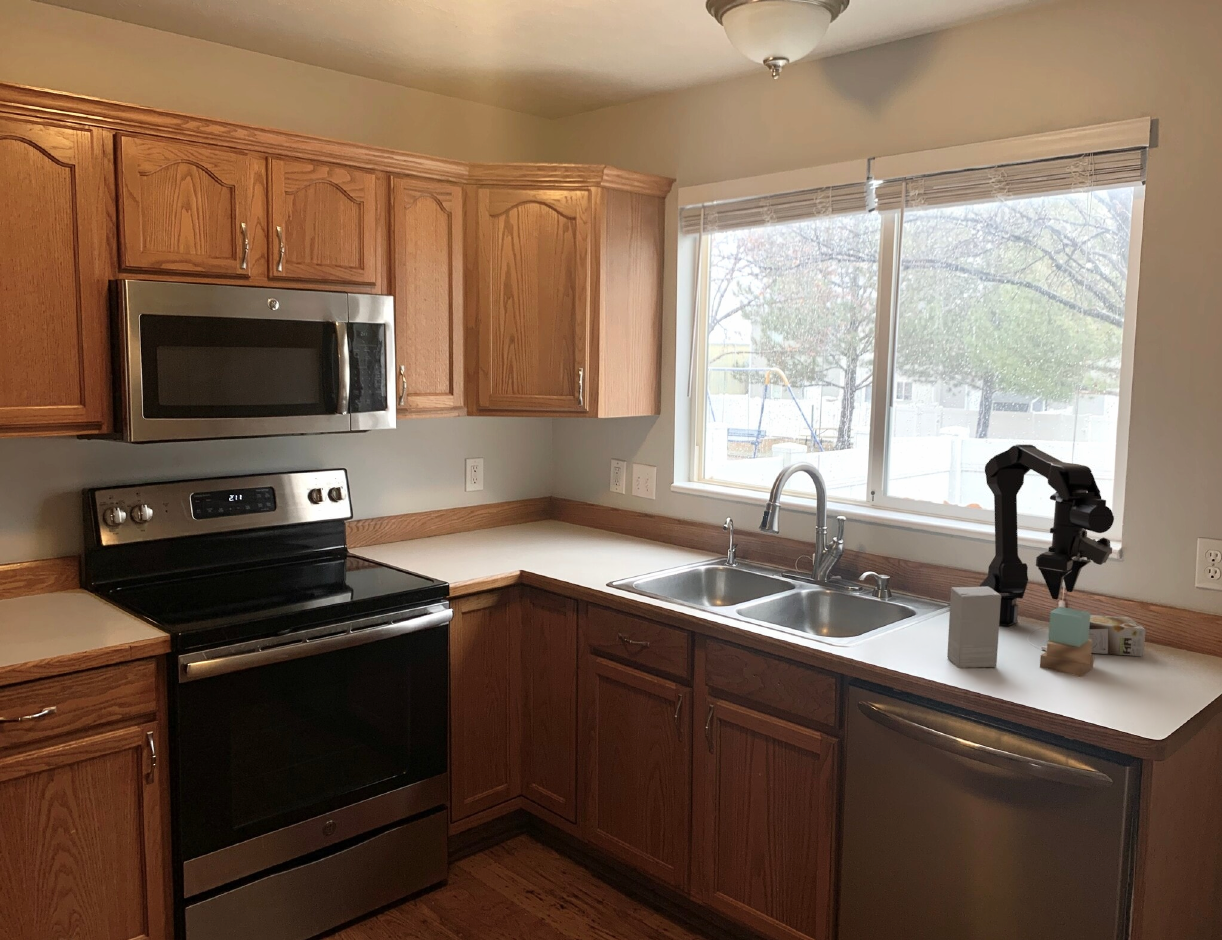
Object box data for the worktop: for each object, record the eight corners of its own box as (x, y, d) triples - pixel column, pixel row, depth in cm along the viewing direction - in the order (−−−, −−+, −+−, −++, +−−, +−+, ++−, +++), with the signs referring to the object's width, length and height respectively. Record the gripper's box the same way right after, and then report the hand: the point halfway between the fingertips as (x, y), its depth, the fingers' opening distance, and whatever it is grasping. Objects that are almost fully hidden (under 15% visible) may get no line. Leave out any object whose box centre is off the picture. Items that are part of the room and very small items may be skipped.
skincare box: (983, 658, 199) (989, 585, 197) (998, 669, 192) (1004, 593, 190) (944, 658, 198) (949, 584, 196) (957, 669, 191) (962, 593, 189)
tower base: (1039, 669, 194) (1040, 655, 193) (1052, 660, 200) (1053, 646, 199) (1081, 678, 188) (1082, 664, 188) (1092, 669, 194) (1094, 655, 194)
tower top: (1046, 657, 192) (1047, 643, 191) (1048, 647, 199) (1049, 633, 198) (1090, 664, 188) (1091, 649, 188) (1090, 653, 195) (1091, 639, 195)
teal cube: (1048, 640, 193) (1050, 612, 193) (1057, 634, 198) (1059, 606, 197) (1079, 647, 189) (1081, 618, 189) (1088, 640, 194) (1090, 612, 193)
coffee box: (1146, 628, 201) (1067, 623, 203) (1143, 657, 202) (1065, 652, 204) (1128, 616, 210) (1053, 612, 212) (1126, 644, 211) (1051, 640, 213)
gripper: (1095, 535, 188) (1088, 611, 190) (1122, 524, 202) (1116, 595, 204) (1037, 527, 196) (1032, 600, 198) (1067, 517, 209) (1062, 585, 211)
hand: (1062, 595), depth 203 cm, fingers open, 9 cm apart
